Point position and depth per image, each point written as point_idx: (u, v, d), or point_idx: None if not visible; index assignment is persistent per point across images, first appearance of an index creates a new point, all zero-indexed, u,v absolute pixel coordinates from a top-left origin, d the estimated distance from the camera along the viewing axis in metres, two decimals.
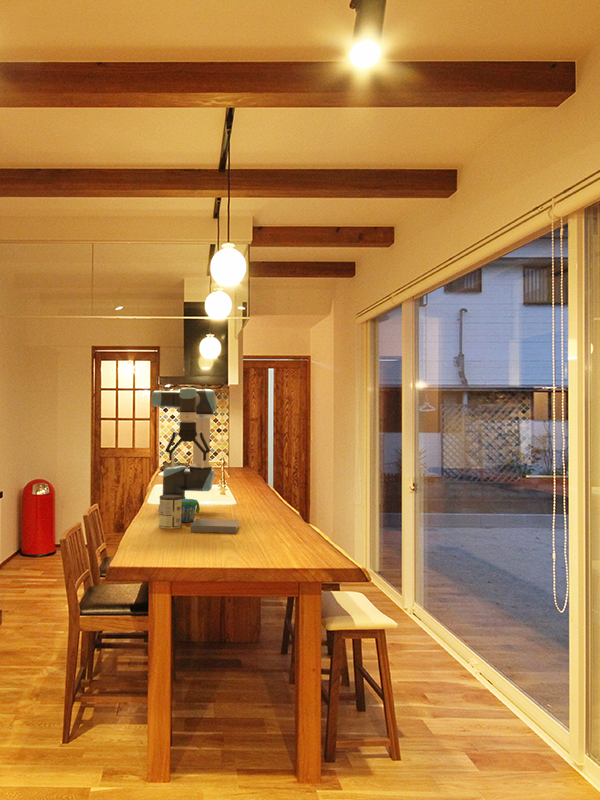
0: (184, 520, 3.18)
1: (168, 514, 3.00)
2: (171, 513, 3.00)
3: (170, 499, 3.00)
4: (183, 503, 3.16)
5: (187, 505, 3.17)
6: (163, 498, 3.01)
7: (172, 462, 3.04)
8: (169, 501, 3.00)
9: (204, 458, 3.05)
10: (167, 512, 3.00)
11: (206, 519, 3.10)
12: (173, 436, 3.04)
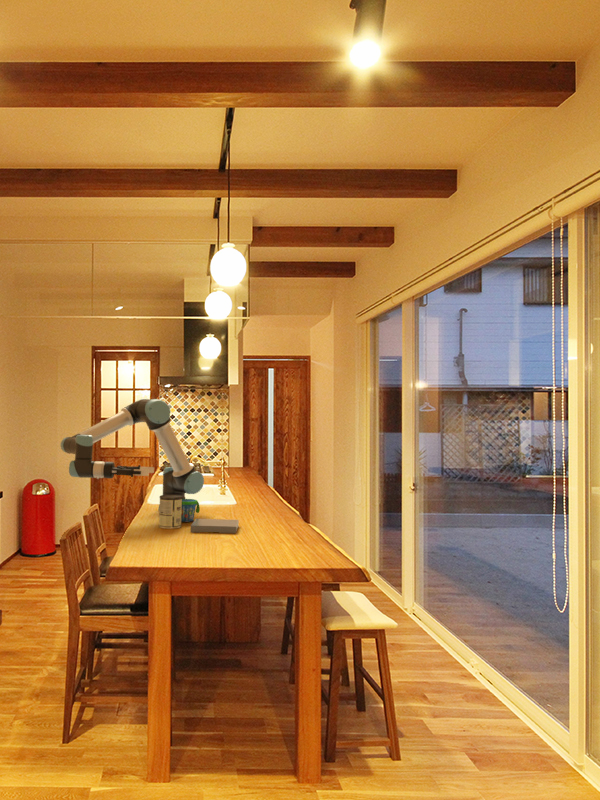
0: (184, 520, 3.18)
1: (168, 514, 3.00)
2: (171, 513, 3.00)
3: (170, 499, 3.00)
4: (183, 503, 3.16)
5: (187, 505, 3.17)
6: (163, 498, 3.01)
7: None
8: (169, 501, 3.00)
9: (138, 474, 2.97)
10: (167, 512, 3.00)
11: (206, 519, 3.10)
12: None
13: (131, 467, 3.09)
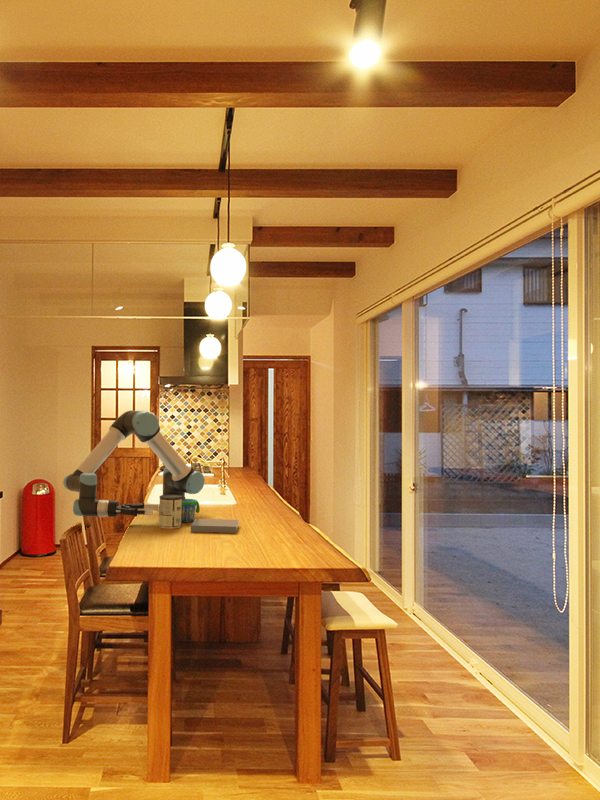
0: (184, 520, 3.18)
1: (168, 514, 3.00)
2: (171, 513, 3.00)
3: (170, 499, 3.00)
4: (183, 503, 3.16)
5: (187, 505, 3.17)
6: (163, 498, 3.01)
7: (152, 510, 3.11)
8: (169, 501, 3.00)
9: (142, 513, 2.97)
10: (167, 512, 3.00)
11: (206, 519, 3.10)
12: None
13: (135, 505, 3.09)
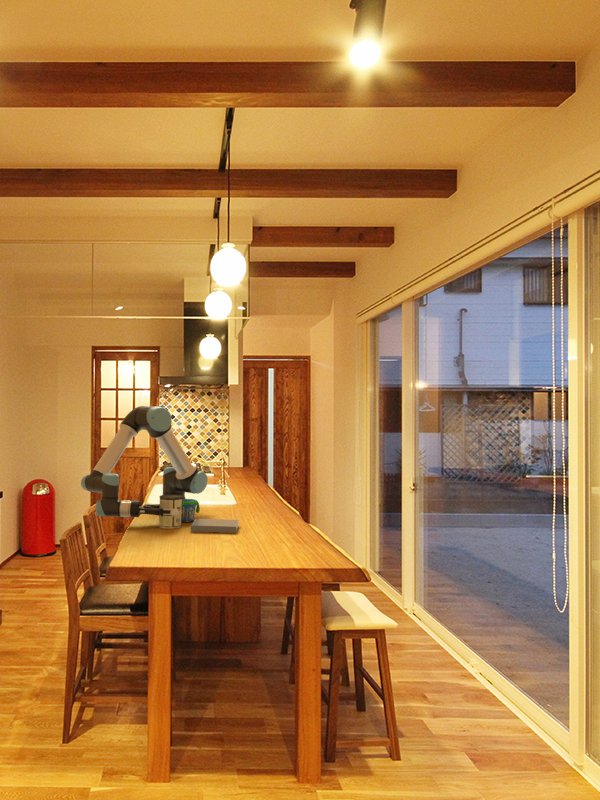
0: (184, 520, 3.18)
1: None
2: None
3: (170, 499, 3.00)
4: (183, 503, 3.16)
5: (187, 505, 3.17)
6: (163, 498, 3.01)
7: None
8: (169, 501, 3.00)
9: None
10: None
11: (206, 519, 3.10)
12: None
13: (158, 505, 3.09)
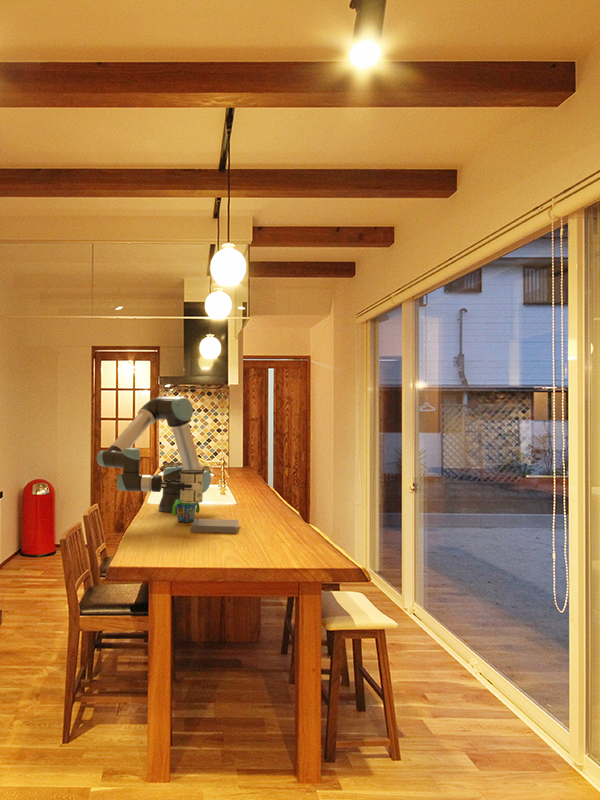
0: (184, 520, 3.18)
1: None
2: None
3: (191, 473, 2.98)
4: (183, 503, 3.16)
5: (187, 505, 3.17)
6: (184, 472, 2.98)
7: None
8: (190, 475, 2.98)
9: (189, 487, 2.96)
10: None
11: (206, 519, 3.10)
12: None
13: (179, 480, 3.06)
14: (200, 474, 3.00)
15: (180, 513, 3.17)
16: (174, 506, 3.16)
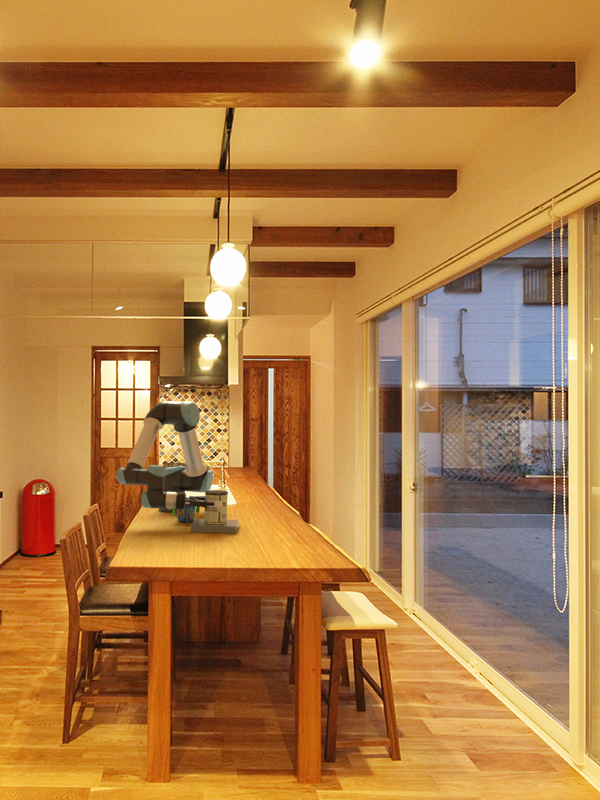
0: (184, 520, 3.18)
1: (214, 510, 2.98)
2: (217, 509, 2.98)
3: (216, 494, 2.98)
4: None
5: None
6: (209, 493, 2.99)
7: None
8: (215, 496, 2.98)
9: (211, 505, 2.95)
10: (213, 508, 2.98)
11: None
12: None
13: (202, 497, 3.07)
14: (225, 495, 3.01)
15: (180, 513, 3.17)
16: None
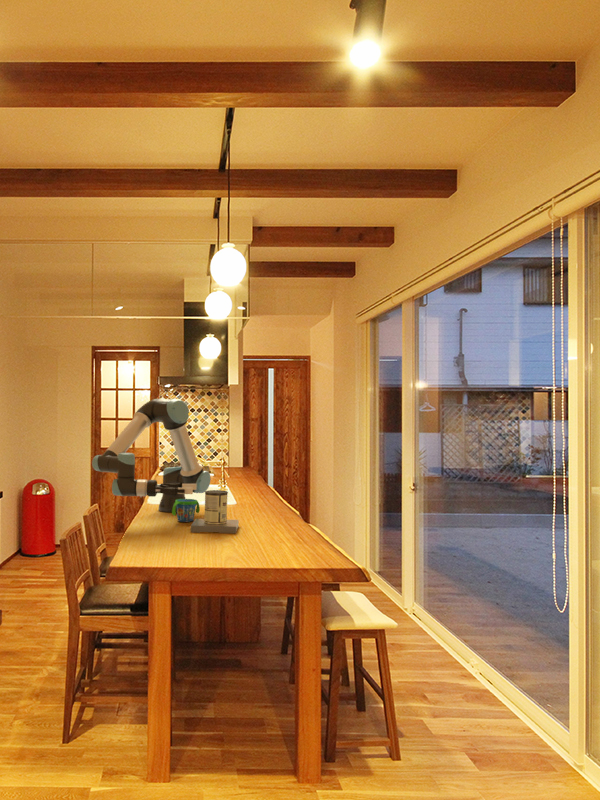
0: (184, 520, 3.18)
1: (214, 510, 2.98)
2: (217, 509, 2.98)
3: (216, 494, 2.98)
4: (183, 503, 3.16)
5: (187, 505, 3.17)
6: (209, 493, 2.99)
7: None
8: (215, 497, 2.98)
9: (182, 492, 2.94)
10: (213, 508, 2.98)
11: None
12: None
13: (173, 484, 3.07)
14: (225, 495, 3.01)
15: (180, 513, 3.17)
16: (174, 506, 3.16)
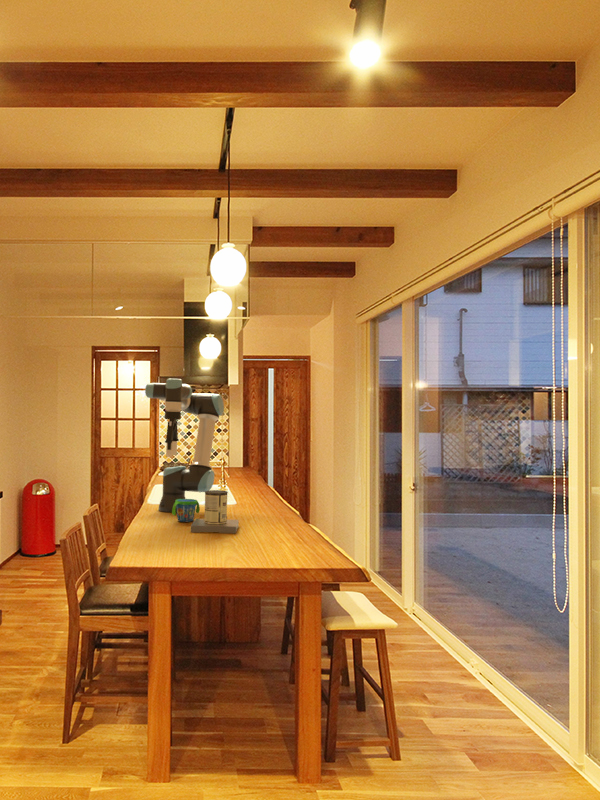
0: (184, 520, 3.18)
1: (214, 510, 2.98)
2: (217, 509, 2.98)
3: (216, 494, 2.98)
4: (183, 503, 3.16)
5: (187, 505, 3.17)
6: (209, 493, 2.99)
7: None
8: (215, 497, 2.98)
9: (167, 447, 3.08)
10: (213, 508, 2.98)
11: None
12: None
13: (175, 434, 3.20)
14: (225, 495, 3.01)
15: (180, 513, 3.17)
16: (174, 506, 3.16)
